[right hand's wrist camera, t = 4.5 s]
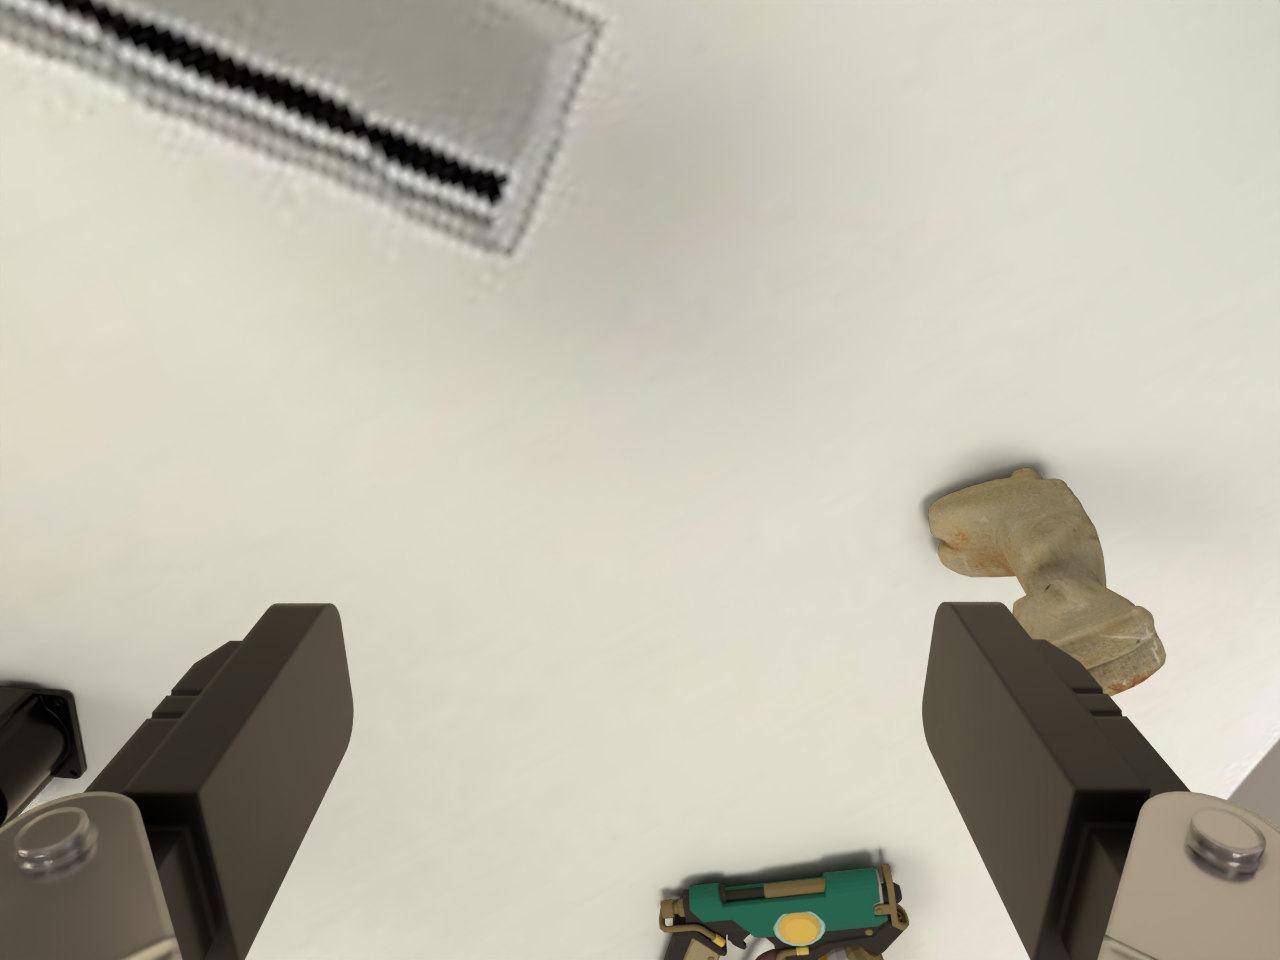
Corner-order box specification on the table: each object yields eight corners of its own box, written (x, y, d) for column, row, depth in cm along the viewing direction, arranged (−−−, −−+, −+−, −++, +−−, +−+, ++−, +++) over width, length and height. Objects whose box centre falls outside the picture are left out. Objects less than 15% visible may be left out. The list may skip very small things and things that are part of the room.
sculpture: (911, 487, 48) (1022, 629, 34) (1036, 440, 47) (1206, 566, 33) (938, 571, 50) (1055, 738, 36) (1060, 528, 49) (1229, 682, 35)
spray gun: (649, 982, 63) (668, 822, 58) (872, 1008, 63) (911, 849, 58) (646, 1036, 59) (666, 869, 54) (885, 1065, 59) (927, 898, 54)
